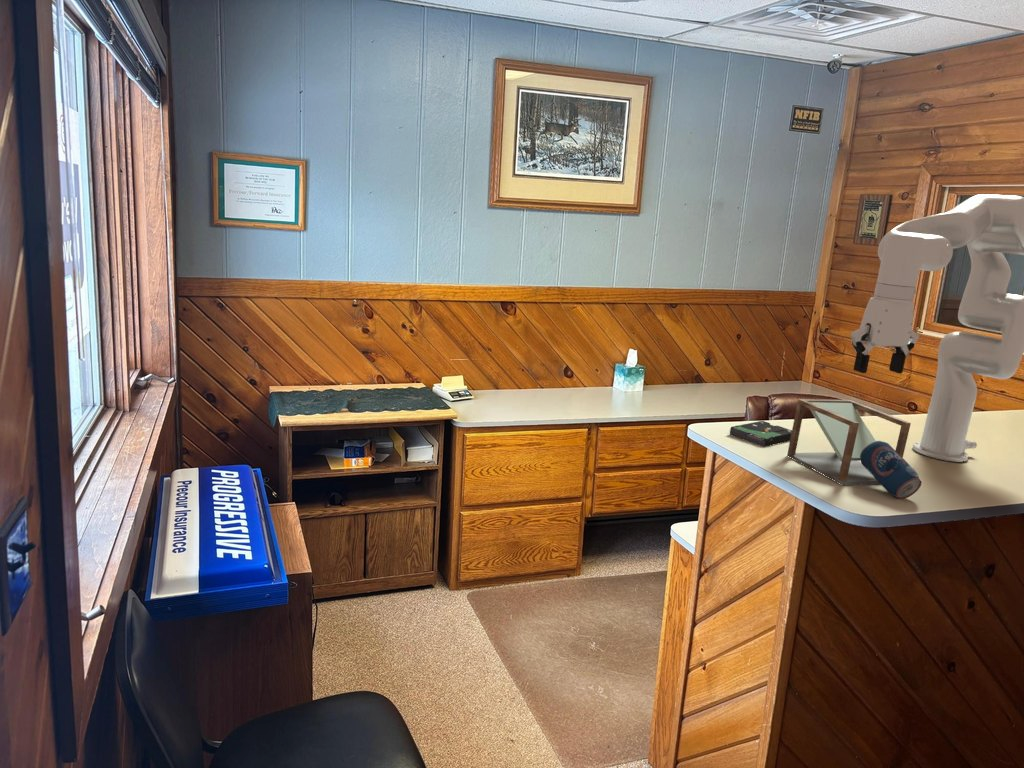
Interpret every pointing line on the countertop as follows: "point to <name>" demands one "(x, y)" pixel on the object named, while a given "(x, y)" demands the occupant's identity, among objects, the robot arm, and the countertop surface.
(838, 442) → the trapdoor
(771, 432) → the disk drive
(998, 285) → the robot arm
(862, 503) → the countertop surface
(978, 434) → the countertop surface
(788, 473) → the countertop surface
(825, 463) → the frame
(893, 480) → the soda can
